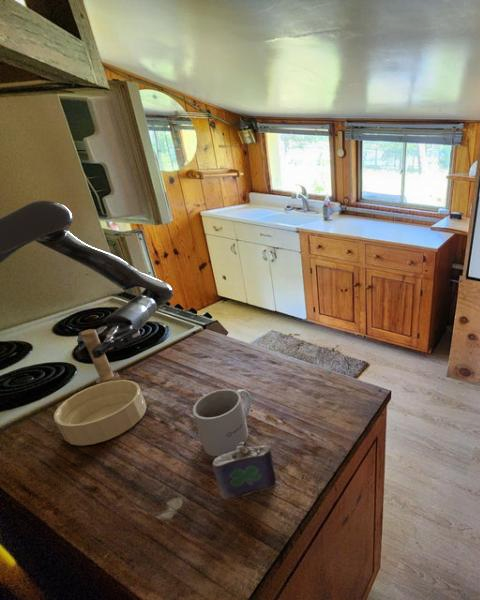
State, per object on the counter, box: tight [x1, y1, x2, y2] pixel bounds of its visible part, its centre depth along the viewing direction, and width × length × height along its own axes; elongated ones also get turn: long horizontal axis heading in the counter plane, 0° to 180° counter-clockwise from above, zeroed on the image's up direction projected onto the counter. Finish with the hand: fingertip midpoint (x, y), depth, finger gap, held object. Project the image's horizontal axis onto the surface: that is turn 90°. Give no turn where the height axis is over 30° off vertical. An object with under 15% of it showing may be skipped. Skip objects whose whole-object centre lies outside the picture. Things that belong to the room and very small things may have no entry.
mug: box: [192, 388, 252, 457], centre depth 69 cm, size 12×9×10 cm
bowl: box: [53, 379, 147, 447], centre depth 71 cm, size 14×14×6 cm
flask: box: [212, 442, 277, 501], centre depth 58 cm, size 9×3×11 cm, turn 110°
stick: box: [80, 328, 121, 385], centre depth 79 cm, size 4×4×15 cm
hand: (87, 355), depth 75 cm, fingers closed on stick, 2 cm apart
